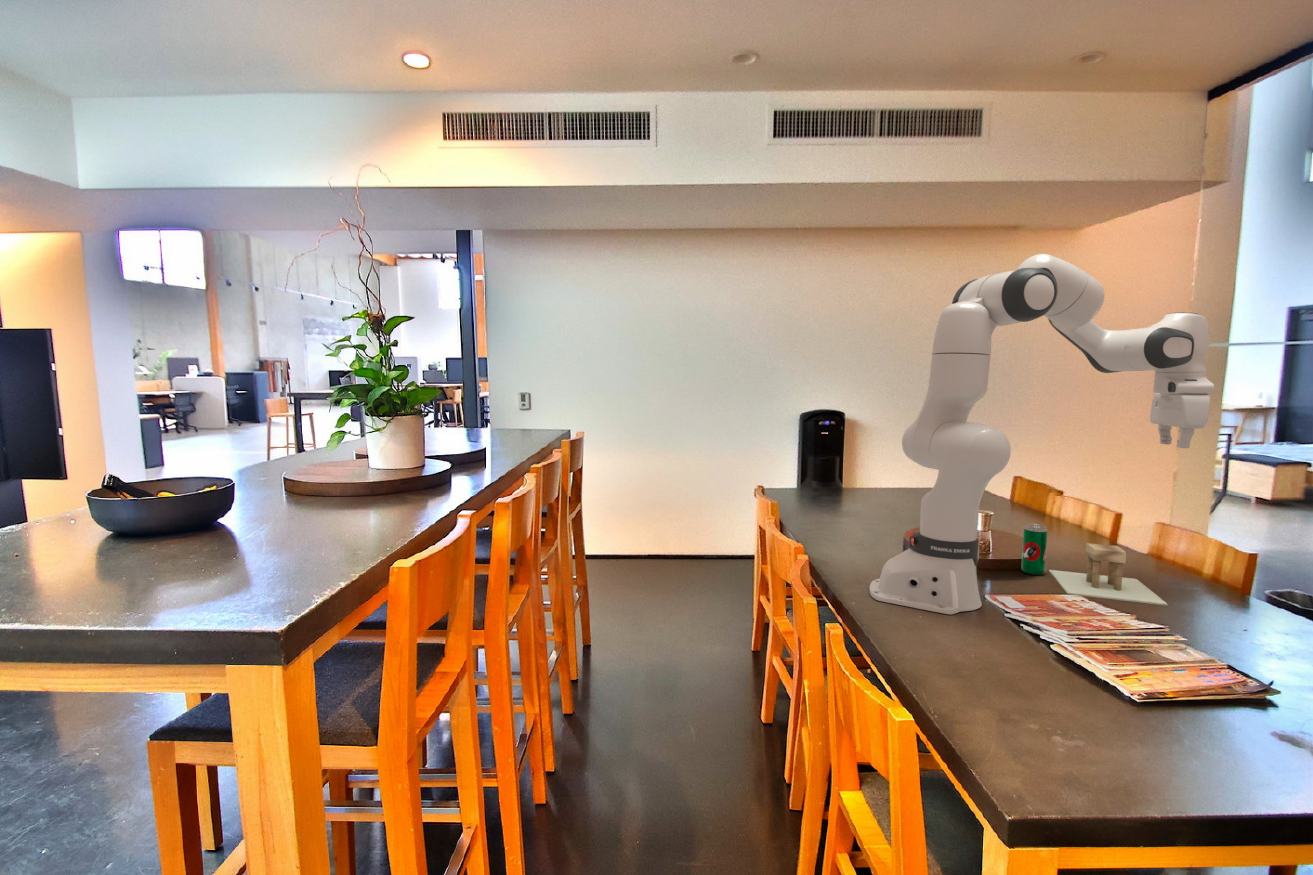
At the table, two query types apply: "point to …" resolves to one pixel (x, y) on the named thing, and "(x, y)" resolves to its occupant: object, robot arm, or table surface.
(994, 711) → the table surface
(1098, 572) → the stool
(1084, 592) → the mat
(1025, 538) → the soda can
